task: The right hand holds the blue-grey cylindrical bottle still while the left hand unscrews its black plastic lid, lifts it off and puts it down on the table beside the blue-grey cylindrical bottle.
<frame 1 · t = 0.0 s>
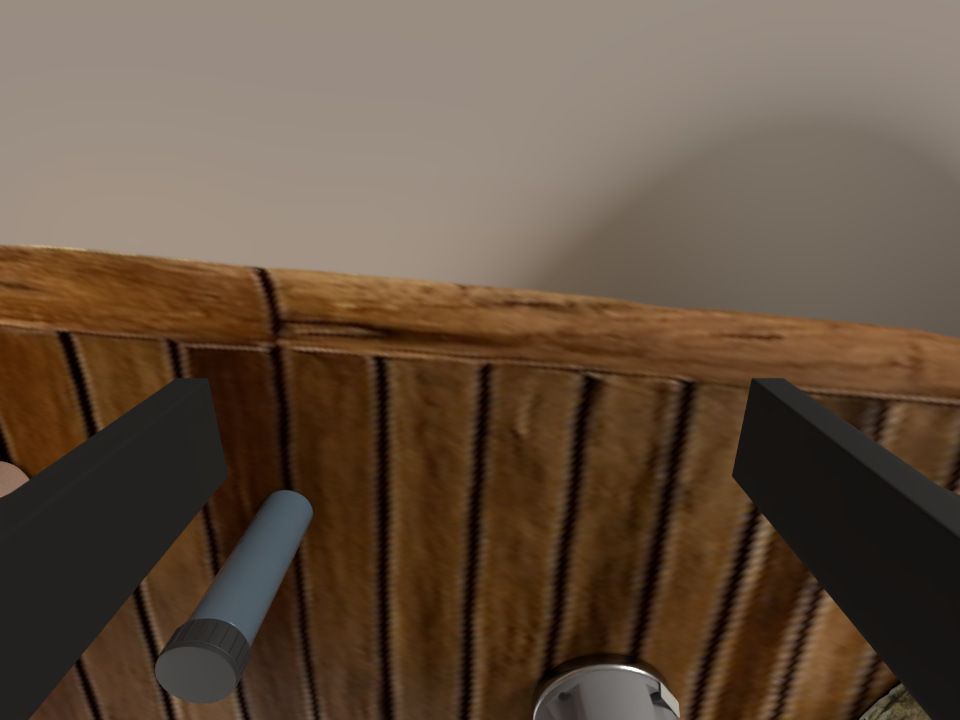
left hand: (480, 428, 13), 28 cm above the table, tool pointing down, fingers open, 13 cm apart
blue-grey cylindrical bottle: (288, 510, 47), on the table
fossil: (900, 707, 56), on the table
lid: (198, 670, 32), point 16 cm above the table, screwed on, not yet turned
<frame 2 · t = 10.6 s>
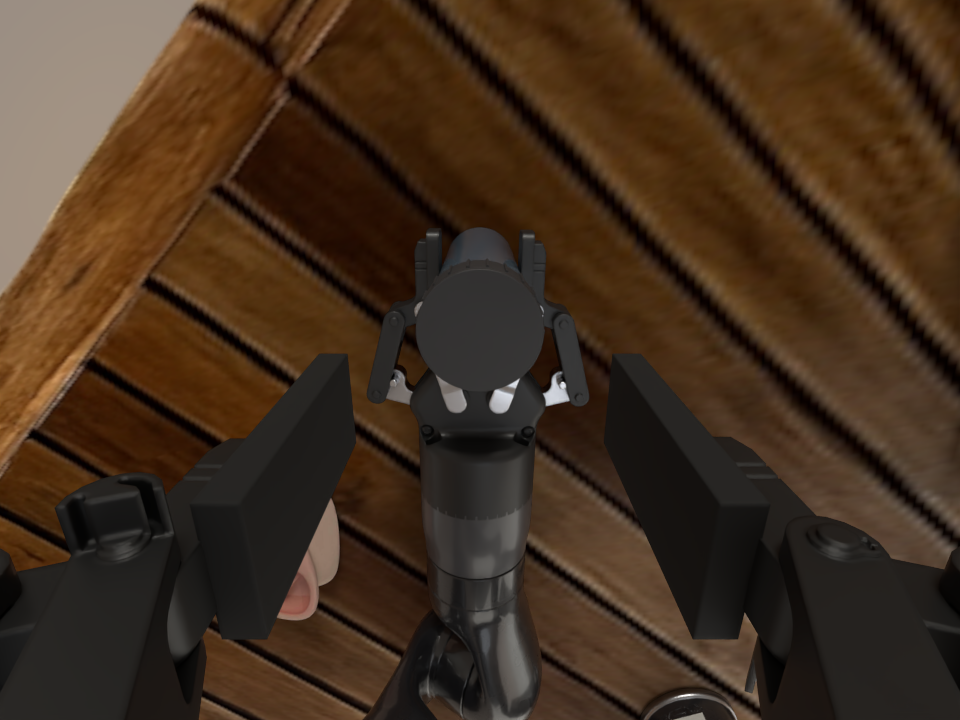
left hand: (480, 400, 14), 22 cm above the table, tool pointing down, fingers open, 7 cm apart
right hand: (480, 231, 28), fingers closed on blue-grey cylindrical bottle, 4 cm apart
blue-grey cylindrical bottle: (479, 261, 35), on the table, touching right hand
lid: (479, 330, 20), point 16 cm above the table, screwed on, not yet turned
anatomical model: (275, 522, 43), on the table
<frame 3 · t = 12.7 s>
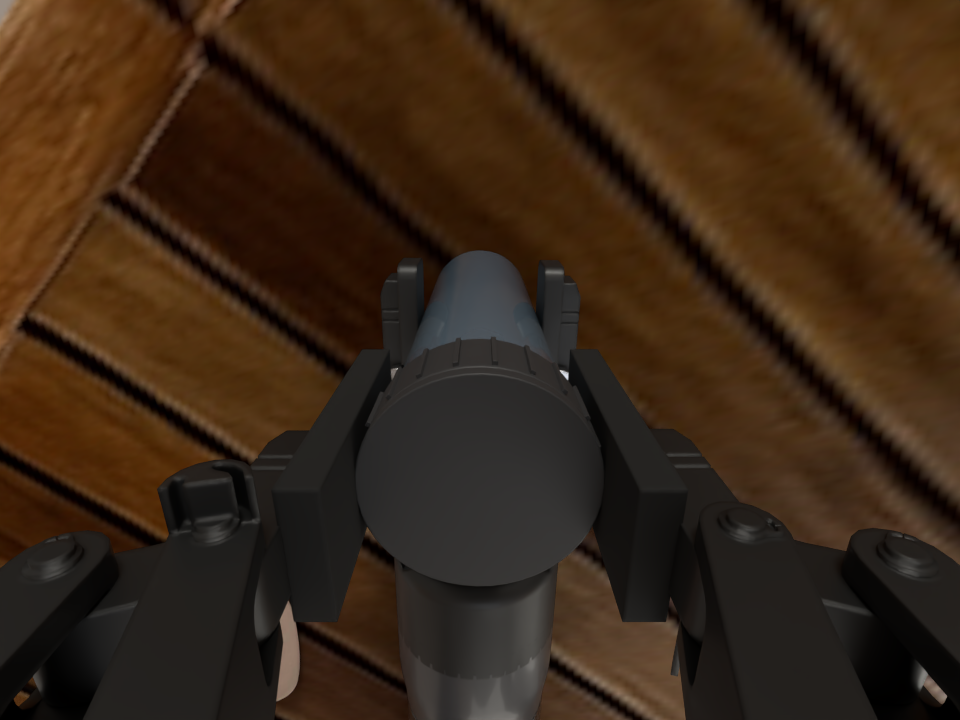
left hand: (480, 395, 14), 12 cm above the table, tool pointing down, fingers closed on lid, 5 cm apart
blue-grey cylindrical bottle: (480, 296, 25), on the table, touching right hand
lid: (479, 479, 10), point 16 cm above the table, screwed on, not yet turned, touching left hand
anatomical model: (216, 624, 33), on the table
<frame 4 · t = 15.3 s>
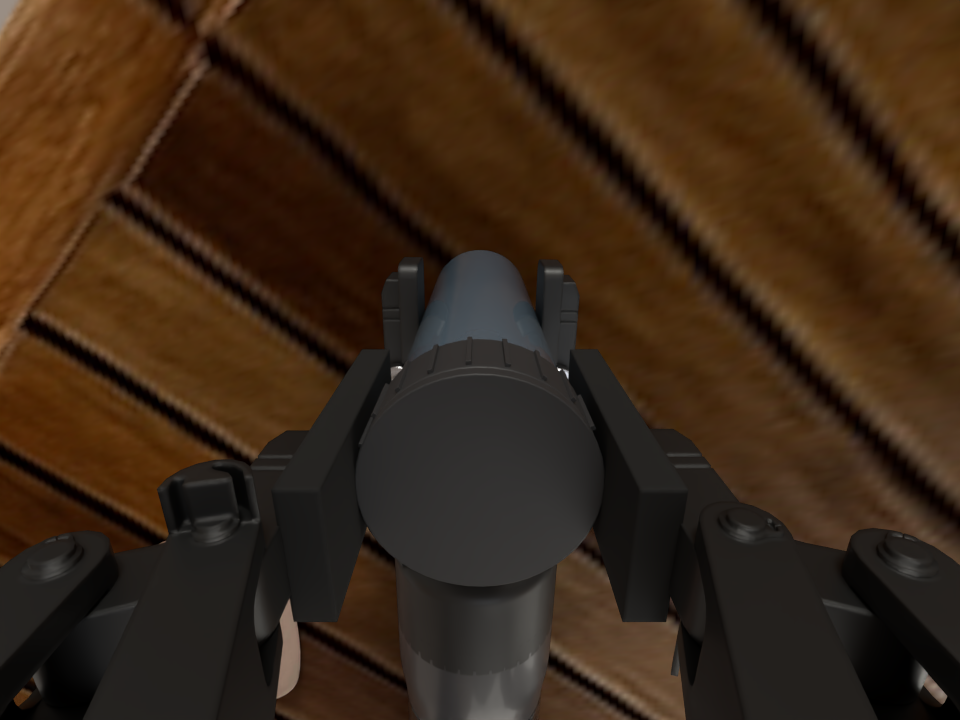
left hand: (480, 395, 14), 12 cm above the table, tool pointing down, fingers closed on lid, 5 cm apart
blue-grey cylindrical bottle: (479, 295, 26), on the table, touching right hand
lid: (479, 479, 10), point 16 cm above the table, turned 63° so far, risen 0.2 cm, still on its thread, touching left hand
anatomical model: (217, 622, 33), on the table
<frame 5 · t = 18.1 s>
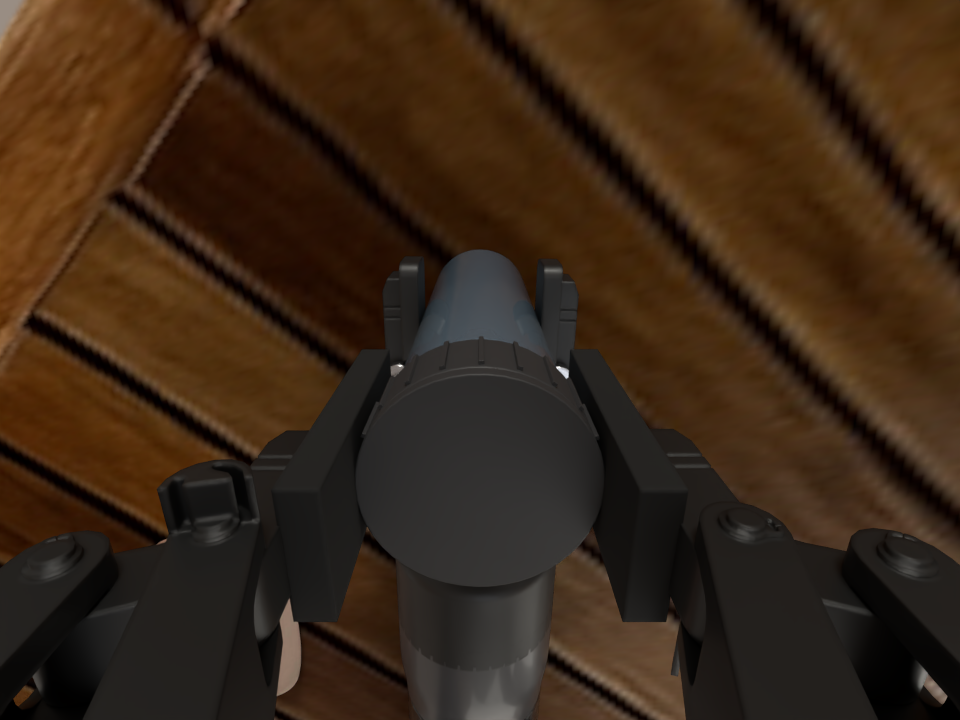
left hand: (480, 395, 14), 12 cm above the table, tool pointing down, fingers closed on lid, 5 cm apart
blue-grey cylindrical bottle: (480, 294, 26), on the table, touching right hand
lid: (479, 480, 10), point 16 cm above the table, turned 126° so far, risen 0.4 cm, still on its thread, touching left hand
anatomical model: (218, 619, 34), on the table
when the left hand's fingers open (0 cm above the table, at t = 24.7 s): lid drops 3 cm, point 2 cm above the table.
when the right hand's fingers open (6 cm above the table, at t = 25.3 s): blue-grey cylindrical bottle stays where it is, on the table.
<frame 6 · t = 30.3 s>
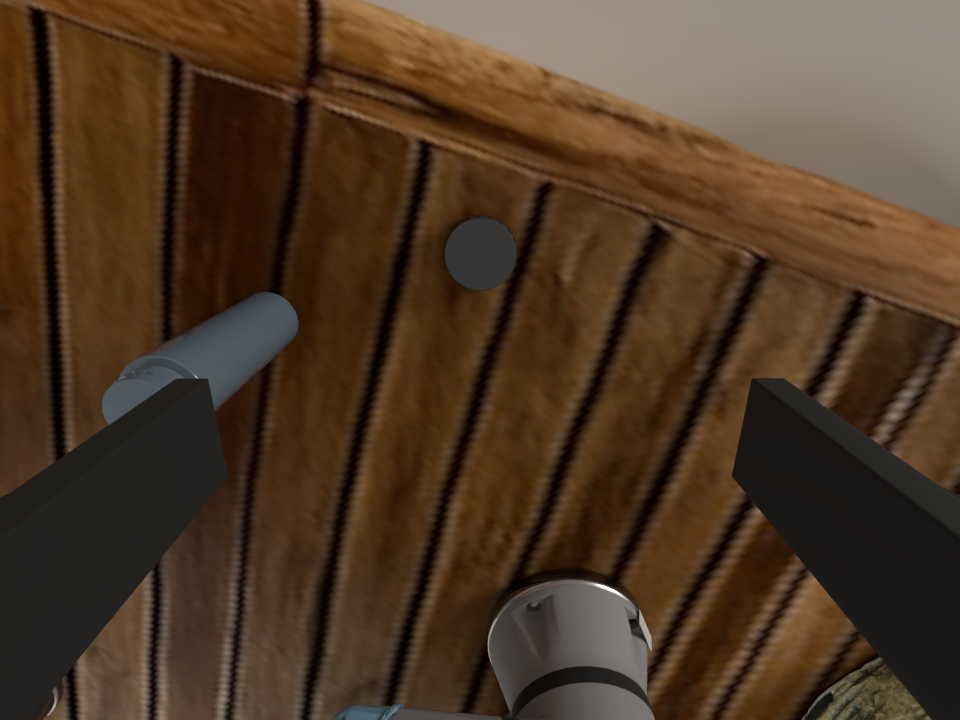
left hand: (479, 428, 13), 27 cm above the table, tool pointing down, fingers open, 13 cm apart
blue-grey cylindrical bottle: (269, 320, 39), on the table
fossil: (867, 686, 53), on the table
lid: (480, 254, 36), point 2 cm above the table, off its thread
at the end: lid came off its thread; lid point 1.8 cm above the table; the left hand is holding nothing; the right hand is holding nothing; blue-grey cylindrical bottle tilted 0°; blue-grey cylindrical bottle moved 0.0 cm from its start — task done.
